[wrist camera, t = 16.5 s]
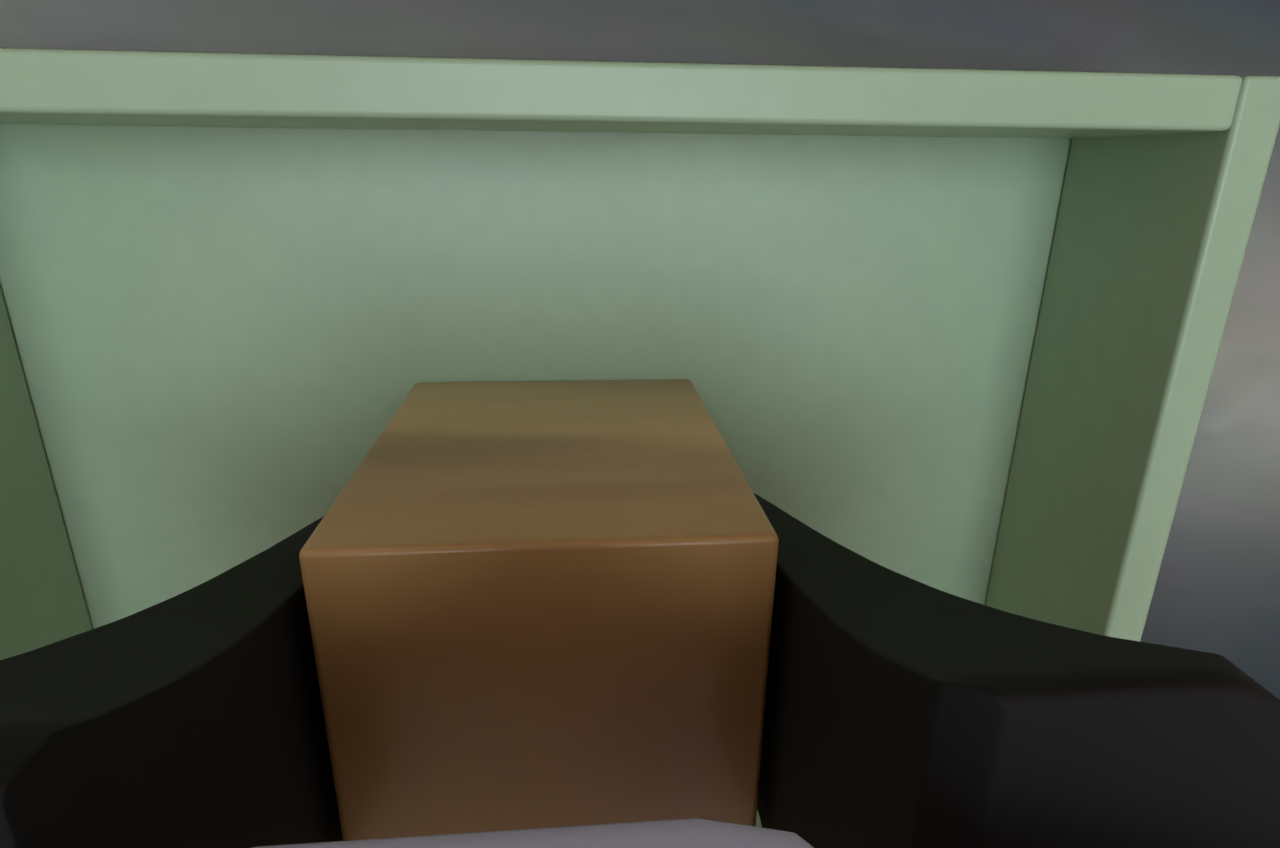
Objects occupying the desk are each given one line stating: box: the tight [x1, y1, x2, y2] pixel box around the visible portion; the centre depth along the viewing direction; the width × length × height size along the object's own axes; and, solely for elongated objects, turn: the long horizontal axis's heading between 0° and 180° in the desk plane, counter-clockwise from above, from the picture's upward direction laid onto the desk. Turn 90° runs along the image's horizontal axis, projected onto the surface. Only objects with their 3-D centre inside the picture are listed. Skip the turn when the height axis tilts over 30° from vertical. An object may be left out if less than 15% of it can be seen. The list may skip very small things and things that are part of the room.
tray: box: [0, 48, 1280, 827], centre depth 12 cm, size 13×17×4 cm
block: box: [299, 379, 779, 841], centre depth 10 cm, size 4×4×6 cm
